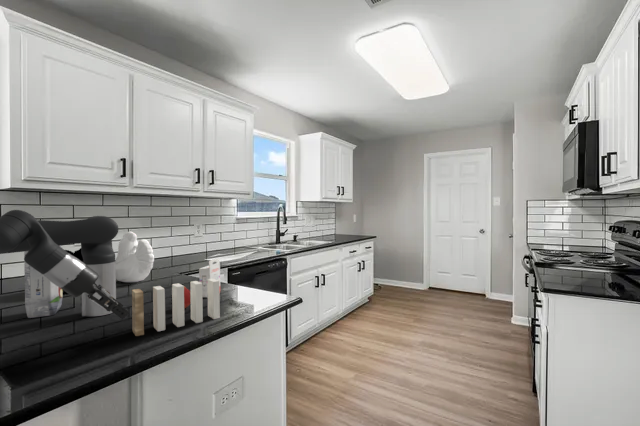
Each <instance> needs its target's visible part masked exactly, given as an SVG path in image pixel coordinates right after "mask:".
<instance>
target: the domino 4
mask: <svg viewBox="0 0 640 426" xmlns="http://www.w3.org/2000/svg"><path fill="white" fill-rule="evenodd" d="M207 290H208V297H207V316H208V317H210V318H211V319H213V320H217V319H220V318H221V314H220V313H221V308H220V307H221V306H220V305H221V304H220V303H221V302H220V301H221V299H220V293H221V288H220V289H219V281H218V280H216V279H207Z"/></svg>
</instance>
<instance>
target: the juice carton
mask: <svg viewBox="0 0 640 426" xmlns="http://www.w3.org/2000/svg"><path fill="white" fill-rule="evenodd" d="M60 247H61V248H63V247H62V245H61V246H60ZM27 252H28V251H24V253H23V255H24V257H25V255H26V254H27ZM23 262H24V263H23V265H24V266H23V267H24V306H25V312H26V316H27V318H28V319H31V318H32V319H33V318H40V317H41V318H42V317H49V316H55V315H56V313H58V311H59V310H60V309H61V307H62V303H63V298H64V297H63V293H64V292H63V290H62V289H61V288H59V287H58V286H56V285H55V284H54V283H52V282H51V281H50V280H48V279H47V278H46V277H45V276H44V275H43V274H41V273H40V272H38V271H37V270H35V269H34V268H32V267H31V266H30V265H28V264H27V263H26V262H25V261H23Z"/></svg>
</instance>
